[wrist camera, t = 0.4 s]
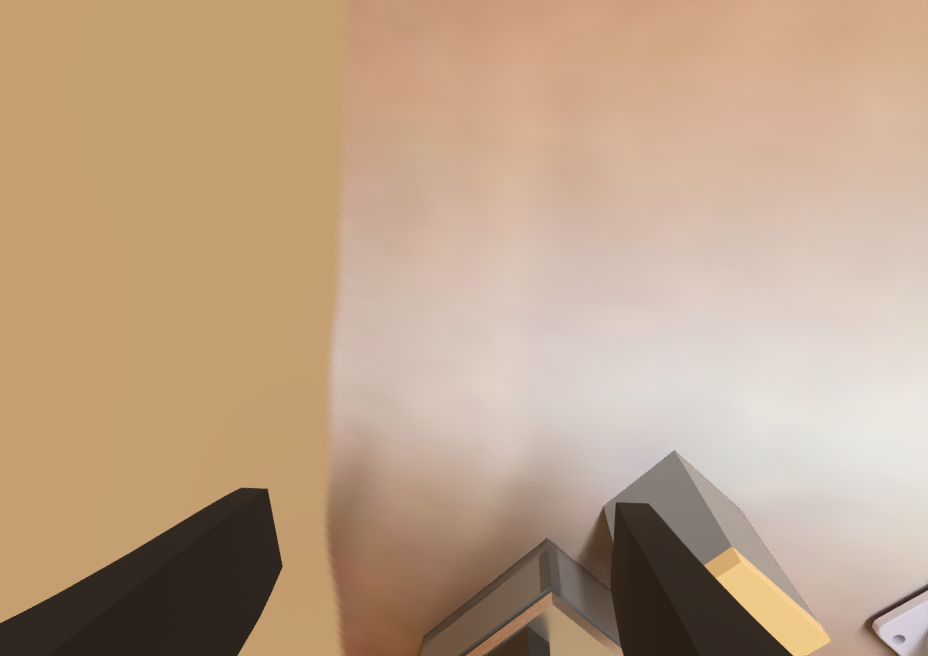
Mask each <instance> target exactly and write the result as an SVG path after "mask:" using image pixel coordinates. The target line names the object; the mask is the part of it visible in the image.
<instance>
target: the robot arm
mask: <svg viewBox="0 0 928 656" xmlns="http://www.w3.org/2000/svg"><path fill="white" fill-rule="evenodd" d="M282 567H283V566H282V561H281V556H280V551H279V545H278V540H277V535H276V530H275V525H274V520H273V515H272V509H271V504H270V499H269V494H268V489H258V488H240V489H238V490H236V491H234V492H232V493H230V494H228V495H226V496H224V497H223V498H221V499H219V500H218V501H216V502H214V503H212V504H211V505H209V506H207V507H205V508H204V509H202V510H200V511H199V512H197V513H195V514H194V515H192V516H191V517H189V518H187V519H185V520H184V521H182V522H180V523H179V524H178V525H176V526H174V527H172V528H171V529H169V530H167V531H166V532H164V533H162V534H161V535H159V536H157V537H156V538H154V539H152V540H151V541H149V542H147V543H146V544H144V545H142V546H141V547H139V548H137V549H136V550H134V551H132V552H130V553H129V554H127V555H126V556H124V557H122V558H120V559H118V560H117V561H115V562H113V563H111V564H110V565H108V566H106V567H104V568H103V569H101V570H99V571H97V572H95V573H94V574H92V575H90V576H88V577H86V578H85V579H83V580H81V581H80V582H78V583H76V584H74V585H72V586H71V587H69V588H67V589H66V590H64V591H62V592H60V593H58V594H57V595H54V596H52V597H51V598H49V599H47V600H45V601H43V602H41V603H39V604H37V605H36V606H33V607H32V608H30V609H28V610H26V611H24V612H22V613H20V614H18V615H16V616H14V617H12V618H10V619H8V620H6V621H4V622H2V623H0V656H237V655H238V654H239V652H240V650H241V648H242V647H243V645H244V643H245V642H246V640H247V638H248V636H249V635H250V633H251V632H252V630H253V628H254V626H255V625H256V623H257V621H258V619H259V617H260V616H261V614H262V611H263V609H264V607H265V605H266V603H267V601H268V599H269V596H270V595H271V592H272V590H273V588H274V585H275V583H276V580H277V578H278V576H279V574H280V571H281V569H282ZM611 592H612V598H613V605H614V611H615V617H616V622H617V628H618V634H619V639H620V645H621V648H622V652H623V656H793V655H792V654H791V653H790V652H789V651H788V650H787V649H786V648H785V647H784V646H783V645H782V644H781V643H780V642H779V641H777V640H776V639H775V638H774V637H773V636H772V635H771V634H770V633H769V632H768V631H767V630H766V629H765V628H764V627H763V626H762V625H761V624H760V623H759V622H758V621H757V620H756V619H755V618H754V617H753V616H752V615H751V614H750V613H749V612H748V611H747V610H746V609H745V608H744V607H743V606H742V605H741V604H740V603H739V602H738V601H737V600H736V599H735V598H734V597H733V596H732V595H731V594H730V593H729V591H728V590H727V589H726V588H725V587H724V586H723V585H722V584H721V583H720V582H719V581H718V580H717V579H716V578H715V577H714V576H713V575H712V574H711V573H710V572H709V570H708V569H707V568H706V567H705V566H704V565H703V564H702V563H701V562H700V561H699V560H698V558H697V557H696V556H695V555H694V554H693V553H692V552H691V551H690V550H689V548H688V547H687V546H686V545H685V544H684V543H683V542H682V541H681V539H680V538H679V537H678V536H677V535H676V534H675V533H674V531H673V530H672V529H671V528H670V527H669V526H668V525H667V523H666V522H665V521H664V520H663V519H662V518H661V516H660V515H659V514H658V513H657V512H656V511H655V510H654V509H653V508H652V506H651V505H650V504H649V503H624V502H616V506H615V522H614V539H613V555H612V571H611ZM872 628H873V630H874V631H875V632H876V634H877V635H878V636H879V637H880V638H881V639H882V640H883V641H884V642H885V643H886V644H887V645H888V646H890V647H891V648H892V649H893V650H894V651H895V652H896V653H897V654H899V655H900V656H928V590H927V591H926V592H924V593H922V594H920V595H919V596H917V597H915V598H913V599H911V600H910V601H908V602H906V603H904V604H902V605H901V606H899V607H897V608H895V609H893V610H892V611H890V612H888V613H886V614H884V615H883V616H881V617H879V618H877V619H876V620H875V621H874V622H873V624H872Z"/></svg>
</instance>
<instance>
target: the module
mask: <svg viewBox="0 0 928 656" xmlns="http://www.w3.org/2000/svg"><path fill="white" fill-rule="evenodd" d="M616 502H624V503H649V504H650V505H651V506H652V508H653V509H654V510H655V511H656V512H657V513H658V514H659V515H660V516H661V518H662V519H663V520H664V521H665V522H666V523H667V525H668V526H669V527H670V528H671V529H672V530H673V531H674V533H675V534H676V535H677V536H678V537H679V538H680V539H681V541H682V542H683V543H684V544H685V545H686V546H687V547H688V548H689V550H690V551H691V552H692V553H693V554H694V555H695V556H696V557H697V558H698V560H699V561H700V562H701V563H702V564H703V565H704V566H705V567H706V568H707V569H708V570H709V572H710V573H711V574H712V575H713V576H714V577H715V578H716V579H717V580H718V581H719V582H720V583H721V584H722V585H723V586H724V587H725V588H726V589H727V590H728V591H729V593H730V594H731V595H732V596H733V597H734V598H735V599H736V600H737V601H738V602H739V603H740V604H741V605H742V606H743V607H744V608H745V609H746V610H747V611H748V612H749V613H750V614H751V615H752V616H753V617H754V618H755V619H756V620H757V621H758V622H759V623H760V624H761V625H762V626H763V627H764V628H765V629H766V630H767V631H768V632H769V633H770V634H771V635H772V636H773V637H774V638H775V639H776V640H777V641H779V642H780V643H781V644H782V645H783V646H784V647H785V648H786V649H787V650H788V651H789V652H790V653H791V654H792V655H793V656H806V655H808V654H809V653H811V652H813V651H815V650H816V649H818V648H820V647H822V646H824V645H825V644H827V643H829V642H831V640H830V638H829V637H828V635H827V634H826V632H825V631H824V629H823V628H822V627H821V625H820V624H819V622H818V621H817V619H816V618H815V616H814V615H813V614H812V612H811V611H810V609H809V608H808V606H807V605H806V603H805V602H804V601H803V599H802V598H801V596H800V595H799V593H798V592H797V590H796V589H795V588H794V586H793V585H792V583H791V582H790V580H789V579H788V577H787V576H786V575H785V573H784V572H783V570H782V569H781V567H780V566H779V564H778V563H777V562H776V560H775V559H774V557H773V556H772V554H771V553H770V551H769V550H768V549H767V547H766V546H765V544H764V543H763V541H762V540H761V538H760V537H759V536H758V534H757V533H756V531H755V530H754V528H753V527H752V525H751V524H750V523H749V521H748V520H747V518H746V517H745V515H744V514H743V513H742V511H741V510H740V508H738V507H737V506H736V505H735V504H734V503H733V502H732V501H731V500H730V499H728V498H727V497H726V496H725V495H724V494H723V493H722V492H721V491H720V490H718V489H717V488H716V487H715V486H714V485H713V484H712V483H711V482H709V481H708V480H707V479H706V478H705V477H704V476H703V475H702V474H701V473H699V472H698V471H697V470H696V469H695V468H694V467H693V466H692V465H691V464H689V463H688V462H687V461H686V460H685V459H684V458H683V457H682V456H680V455H679V454H678V453H677V452H676V451H675V450H674V451H673V452H672V453H670V454H669V455H668V456H667V457H665V458H664V459H663V460H662V461H660V462H659V463H658V464H656V465H655V466H654V467H653V468H651V469H650V470H649V471H648V472H646V473H645V474H644V475H642V476H641V477H640V478H639V479H637V480H636V481H635V482H634V483H632V484H631V485H630V486H628V487H627V488H626V489H625V490H623V491H622V492H621V493H620V494H618V495H617V496H616V497H614V498H613V499H612V500H611V501H609V502H608V503H607V504H606V505H604V506H603V507H604V511H605V515H606V518H607V522H608V526H609V529H610V533H611V537H612V541H613V539H614V522H615V506H616Z"/></svg>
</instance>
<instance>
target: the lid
mask: <svg viewBox="0 0 928 656" xmlns="http://www.w3.org/2000/svg"><path fill="white" fill-rule="evenodd" d="M466 656H623V652H622V648H620V647H619V646H618V645H617V644H615V643H614V642H613V641H612V640H611V639H609V638H608V637H607V636H606V635H604V634H603V633H602V632H601V631H599V630H598V629H597V628H596V627H595V626H593V625H592V624H591V623H590V622H588V621H587V620H586V619H585V618H584V617H582V616H581V615H580V614H579V613H577V612H576V611H575V610H574V609H572V608H571V607H570V606H569V605H568V604H566V603H565V602H564V601H563V600H561V599H560V598H559V597H558V596H556V595H555V594H554V593H553V592H550V593H549V594H547V595H546V596H545V597H543V598H542V599H541V600H539V601H538V602H537V603H535V604H534V605H533V606H531V607H530V608H529V609H527V610H526V611H525V612H523V613H522V614H521V615H519V616H518V617H517V618H515V619H514V620H513V621H511V622H510V623H509V624H507V625H506V626H505V627H503V628H502V629H501V630H499V631H498V632H497V633H495V634H494V635H493V636H491V637H490V638H489V639H487V640H486V641H485V642H483V643H482V644H480V645H479V646H478V647H476V648H475V649H474V650H472V651H471V652H470V653H468V654H467V655H466Z"/></svg>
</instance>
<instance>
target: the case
mask: <svg viewBox="0 0 928 656" xmlns="http://www.w3.org/2000/svg"><path fill="white" fill-rule="evenodd" d="M550 592H553V593H554V594H555V595H556V596H558V597H559V598H560V599H561V600H563V601H564V602H565V603H566V604H568V605H569V606H570V607H571V608H572V609H574V610H575V611H576V612H577V613H579V614H580V615H581V616H582V617H584V618H585V619H586V620H587V621H588V622H590V623H591V624H592V625H593V626H595V627H596V628H597V629H598V630H599V631H601V632H602V633H603V634H604V635H606V636H607V637H608V638H609V639H611V640H612V641H613V642H614V643H615V644H617V645H618V646H619V647H620V648H621V645H620V639H619V634H618V628H617V622H616V617H615V611H614V605H613V598H612V592H611V591H610V590H609V589H607V588H606V587H605V586H604V585H603V584H601V583H600V582H599V581H598V580H597V579H595V578H594V577H593V576H592V575H591V574H589V573H588V572H587V571H586V570H585V569H583V568H582V567H581V566H580V565H579V564H577V563H576V562H575V561H574V560H573V559H571V558H570V557H569V556H568V555H566V554H565V553H564V552H563V551H562V550H560V549H559V548H558V547H557V546H556V545H554V544H553V543H552V542H551V541H550V540H548V539H546V540H545V541H543V542H542V543H541V544H540V545H538V546H537V547H536V548H535V549H533V550H532V551H531V552H530V553H528V554H527V555H526V556H525V557H523V558H522V559H521V560H520V561H518V562H517V563H516V564H515V565H513V566H512V567H511V568H510V569H508V570H507V571H506V572H505V573H503V574H502V575H501V576H500V577H498V578H497V579H496V580H495V581H493V582H492V583H491V584H489V585H488V586H487V587H486V588H484V589H483V590H482V591H481V592H479V593H478V594H477V595H476V596H474V597H473V598H472V599H471V600H469V601H468V602H467V603H466V604H464V605H463V606H462V607H461V608H459V609H458V610H457V611H456V612H454V613H453V614H452V615H451V616H449V617H448V618H447V619H446V620H444V621H443V622H442V623H441V624H439V625H438V626H437V627H436V628H434V629H433V630H432V631H431V632H429V633H428V634H427V635H426V636H424V639H423V644H422V649H421V654H420V656H466V655H467V654H468V653H470V652H471V651H472V650H474V649H475V648H476V647H478V646H479V645H480V644H482V643H483V642H485V641H486V640H487V639H489V638H490V637H491V636H493V635H494V634H495V633H497V632H498V631H499V630H501V629H502V628H503V627H505V626H506V625H507V624H509V623H510V622H511V621H513V620H514V619H515V618H517V617H518V616H519V615H521V614H522V613H523V612H525V611H526V610H527V609H529V608H530V607H531V606H533V605H534V604H535V603H537V602H538V601H539V600H541V599H542V598H543V597H545V596H546V595H547V594H549V593H550Z"/></svg>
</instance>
